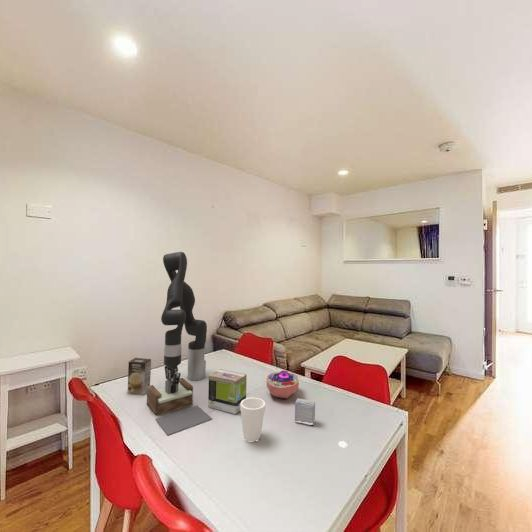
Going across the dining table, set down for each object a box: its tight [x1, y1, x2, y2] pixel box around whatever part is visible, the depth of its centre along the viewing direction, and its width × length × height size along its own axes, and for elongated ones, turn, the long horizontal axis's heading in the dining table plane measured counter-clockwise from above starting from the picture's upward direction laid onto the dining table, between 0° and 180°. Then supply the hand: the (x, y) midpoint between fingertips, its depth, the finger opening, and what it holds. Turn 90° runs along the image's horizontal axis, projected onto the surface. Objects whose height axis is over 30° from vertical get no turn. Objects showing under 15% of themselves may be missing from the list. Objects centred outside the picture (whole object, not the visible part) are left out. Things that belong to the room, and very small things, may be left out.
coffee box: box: [127, 357, 152, 396], centre depth 143 cm, size 9×6×16 cm
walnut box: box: [146, 377, 194, 417], centre depth 130 cm, size 17×12×8 cm
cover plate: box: [156, 379, 194, 403], centre depth 128 cm, size 15×12×6 cm
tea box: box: [207, 369, 247, 415], centre depth 130 cm, size 15×10×15 cm, turn 65°
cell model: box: [265, 369, 300, 399], centre depth 143 cm, size 17×20×11 cm
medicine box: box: [294, 398, 316, 424], centre depth 119 cm, size 8×4×9 cm, turn 71°
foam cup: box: [240, 397, 266, 442], centre depth 107 cm, size 10×9×13 cm
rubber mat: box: [154, 405, 213, 437], centre depth 118 cm, size 19×14×1 cm
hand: (171, 391), depth 128 cm, fingers closed on cover plate, 3 cm apart
